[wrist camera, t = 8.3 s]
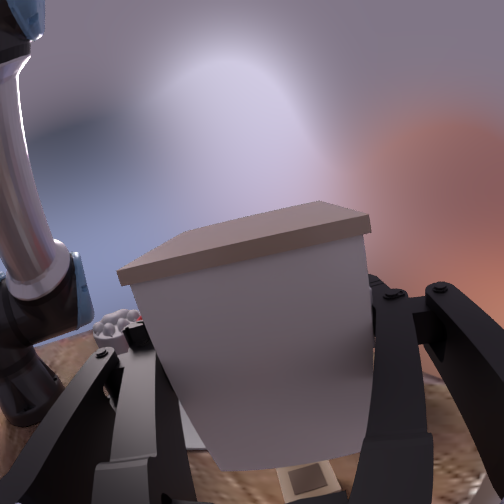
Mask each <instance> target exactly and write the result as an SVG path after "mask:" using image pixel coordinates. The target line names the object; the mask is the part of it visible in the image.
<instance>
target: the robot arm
mask: <svg viewBox="0 0 504 504" xmlns="http://www.w3.org/2000/svg"><path fill="white" fill-rule="evenodd" d="M44 20H45V0H0V258H1V260H2V262H3V264H4V265H5V267H6V269H7V272H6V275H5V274H4V272H0V407H1V410H2V412H3V414H4V415H5V416H6V418H7V419H8V421H9V422H10V423H11V424H13V425H15V426H20V427H23V426H29V425H33V424H35V423H38V422H40V421H41V423H40V424H39V426H38V427H37V429H36V430H35V432H34V433H33V434H32V436H31V437H30V439H29V440H28V442H27V443H26V445H25V447H24V448H23V450H22V451H21V453H20V454H19V456H18V457H17V459H16V461H15V462H14V464H13V465H12V467H11V469H10V470H9V472H8V473H7V474H6V475H5V476H4V477H3V478H2V479H1V480H0V504H213V503H208V502H198V501H197V498H196V494H195V490H194V485H193V481H192V476H191V471H190V466H189V461H188V456H187V450H186V445H185V439H184V433H183V427H182V420H181V413H180V406H179V399H178V397H177V395H176V393H175V391H174V389H173V387H172V385H171V383H170V381H169V379H168V377H167V375H166V373H165V370H164V368H163V366H162V364H161V362H160V360H159V357H158V355H157V353H156V351H155V348H154V346H153V344H152V341H151V339H150V336H149V334H148V332H147V329H146V327H145V324H144V322H143V320H140V321H136V322H133V323H131V324H129V325H127V326H126V327H124V328H123V330H122V332H123V334H124V336H125V339H126V341H127V343H128V345H129V350H128V353H124V354H120V355H117V354H116V352H115V350H114V348H113V347H105V348H104V347H102V348H101V349H98V350H97V351H95V352H94V353H93V354H92V355H91V356H90V357H89V358H88V360H87V361H86V362H85V364H84V365H83V366H82V367H81V369H80V370H79V371H78V373H77V374H76V375H75V376H74V378H73V379H72V380H71V382H70V383H69V384H68V386H67V387H66V388H65V387H64V386H63V384H62V382H61V380H60V379H59V377H58V376H57V375H56V374H55V373H54V372H53V371H52V370H51V369H50V368H49V367H48V366H47V365H46V364H45V363H44V362H43V361H42V359H41V358H40V357H39V356H38V355H37V353H36V351H35V349H34V347H33V345H34V344H37V343H40V342H42V341H45V340H48V339H51V338H54V337H57V336H60V335H63V334H65V333H68V332H71V331H74V330H78V329H79V328H80V327H82V326H84V325H87V324H89V323H91V322H92V321H93V319H94V309H93V305H92V302H91V298H90V294H89V291H88V287H87V283H86V278H85V274H84V270H83V265H82V261H81V256H80V254H79V253H78V252H71V253H69V251H68V249H67V248H66V246H65V245H64V244H63V243H62V242H60V241H58V240H55V239H53V237H52V234H51V232H50V229H49V226H48V223H47V220H46V217H45V214H44V212H43V208H42V205H41V202H40V199H39V195H38V192H37V188H36V185H35V181H34V177H33V173H32V169H31V165H30V161H29V156H28V151H27V146H26V141H25V136H24V129H23V123H22V115H21V108H20V98H19V85H18V74H19V72H20V70H21V69H22V68H23V66H24V64H25V63H26V62H27V61H28V59H29V58H30V46H31V41H35V40H37V39H38V38H40V37H41V36H42V35H43V33H44V29H45V25H44V22H45V21H44ZM368 279H369V290H370V302H371V317H372V337H373V348H375V357H374V371H373V382H372V392H371V401H370V409H369V416H368V423H367V429H366V435H365V438H364V439H363V443H362V448H361V453H360V457H359V462H358V467H357V471H356V475H355V479H354V483H353V487H352V491H351V495H350V498H349V499H347V495H346V490H345V491H340V492H336V493H331V494H326V495H321V496H315V497H309V498H302V499H298V500H295V501H292V502H289V503H286V504H431V502H432V489H433V436H432V434H431V433H428V432H427V420H426V404H425V393H424V383H423V375H422V367H421V360H420V354H419V347H418V345H420V344H423V345H424V348H425V350H426V351H427V353H428V354H429V356H430V358H431V360H432V361H433V363H434V365H435V367H436V368H437V370H438V372H439V373H440V375H441V377H442V379H443V381H444V382H445V384H446V386H447V388H448V390H449V392H450V394H451V395H452V397H453V399H454V401H455V403H456V405H457V407H458V409H459V411H460V413H461V415H462V417H463V419H464V421H465V423H466V425H467V427H468V429H469V432H470V434H471V436H472V438H473V440H474V443H475V445H476V447H477V450H478V452H479V454H480V457H481V459H482V462H483V464H484V467H485V469H486V472H487V474H488V477H489V479H490V481H491V483H492V486H493V488H494V489H495V491H496V492H497V494H498V496H499V497H500V499H501V500H502V501H501V503H500V504H504V329H502V327H501V326H499V325H498V324H497V323H496V322H495V321H494V320H493V319H492V318H491V317H490V316H489V315H488V314H486V313H485V312H484V311H483V310H482V309H481V308H480V307H478V306H477V305H476V304H475V303H474V302H473V301H471V300H470V299H469V298H468V297H467V296H466V295H465V294H463V293H462V292H461V291H460V290H459V289H457V288H456V287H455V286H454V285H452V284H450V283H446V282H437V283H433V284H430V285H428V286H427V287H426V289H425V296H421V297H413V298H408V294H407V292H406V291H404V290H402V289H390V288H389V287H388V286H387V285H386V284H384V283H383V282H382V281H381V280H380V279H379V278H378V277H377V276H374V275H371V274H368ZM375 337H376V338H375ZM103 386H105V388H106V390H107V391H108V393H109V395H108V397H106V396H105V394H104V392H103Z"/></svg>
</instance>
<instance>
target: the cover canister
mask: <svg viewBox="0 0 504 504" xmlns="http://www.w3.org/2000/svg"><path fill="white" fill-rule="evenodd" d="M367 233H371V225H370V219H369V215H368V214H366V213H362V212H359V211H355V210H352V209H348V208H344V207H340V206H337V205H333V204H330V203H326V202H322V201H316V202H311V203H306V204H301V205H297V206H292V207H288V208H283V209H279V210H274V211H269V212H265V213H261V214H256V215H251V216H247V217H243V218H238V219H235V220H230V221H226V222H222V223H218V224H213V225H209V226H205V227H201V228H197V229H193V230H189V231H185V232H183V233H181V234H179V235H177V236H176V237H174V238H172V239H170V240H169V241H167V242H165V243H163V244H162V245H160V246H158V247H157V248H154V249H153V250H151V251H149V252H147V253H146V254H144V255H143V256H141V257H139V258H137V259H135V260H134V261H132V262H130V263H129V264H127V265H125V266H124V267H122V268H120V269H119V270H117V275H118V278H119V281H120V284H121V286H125V285H130V286H131V289H132V292H133V295H134V298H135V300H136V303H137V306H138V309H139V311H140V314H141V316H142V319H143V322H144V324H145V327H146V329H147V332H148V334H149V336H150V339H151V341H152V344H153V346H154V348H155V351H156V353H157V355H158V357H159V360H160V362H161V364H162V366H163V368H164V370H165V373H166V375H167V377H168V379H169V381H170V383H171V385H172V387H173V389H174V391H175V393H176V395H177V397H178V399H179V401H180V403H181V405H182V407H183V408H184V410H185V412H186V414H187V416H188V418H189V419H190V421H191V423H192V425H193V427H194V428H195V430H196V432H197V433H198V435H199V437H200V439H201V440H202V442H203V444H204V445H205V447H206V448H207V450H208V452H209V453H210V455H211V456H212V458H213V460H214V461H215V463H216V464H217V466H218V467H219V469H220V470H221V471H247V470H261V469H272V468H281V467H289V466H296V465H303V464H309V463H314V462H319V461H324V460H329V459H334V458H338V457H342V456H347V455H351V454H354V453H358V452H361V448H362V443H363V439H364V438H365V435H366V429H367V423H368V416H369V409H370V401H371V392H372V382H373V337H372V317H371V302H370V290H369V279H368V270H367V261H366V253H365V246H364V239H363V234H367Z"/></svg>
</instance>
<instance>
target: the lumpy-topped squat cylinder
mask: <svg viewBox="0 0 504 504" xmlns="http://www.w3.org/2000/svg"><path fill="white" fill-rule="evenodd" d="M140 316H141V314H140V313H139V311H138V310H127V309H121V310H118V311H116V312H114V313H110V314H107V315H105V316H104V317H103V318H102V320H101V321H100V322H96V323H95V324H94V326H93V336H94V339H95V341H96V343H97V345H98V347H99V349H101V348H102V347H104V348H105V347H113V348H114V350H115V352H116V354H117V355H120V354H124V353H128V350H129V345H128V343H127V341H126V339H125V336H124V334H123V332H122V330H123V328H124V327H126V326H127V325H129V324H131V323H133V322H136V321H137V319H138V318H139V317H140Z"/></svg>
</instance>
